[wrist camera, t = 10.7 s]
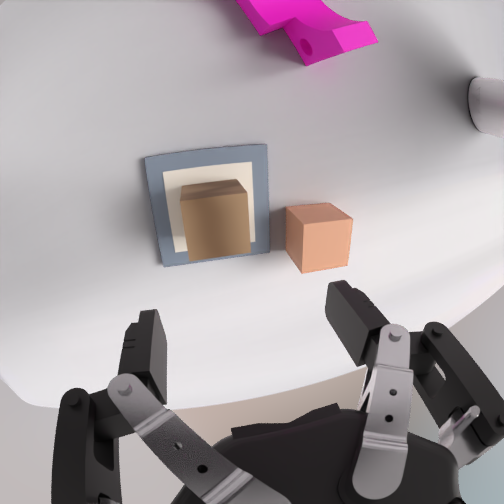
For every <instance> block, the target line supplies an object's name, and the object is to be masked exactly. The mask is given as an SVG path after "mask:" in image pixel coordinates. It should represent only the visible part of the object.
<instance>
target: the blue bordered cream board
mask: <svg viewBox="0 0 504 504" xmlns="http://www.w3.org/2000/svg"><path fill="white" fill-rule="evenodd" d="M144 159H145V166H146V173H147V180H148V187H149V193H150V200H151V206H152V211H153V217H154V222H155V228H156V233H157V238H158V243H159V248H160V252H161V257H162V262H163V266H164V267H170V266H177V265H184V264H191V263H198V262H206V261H213V260H220V259H227V258H234V257H241V256H248V255H255V254H262V253H269V252H270V233H269V191H268V159H267V145H266V144H255V145H241V146H228V147H218V148H208V149H199V150H191V151H183V152H176V153H169V154H162V155H156V156H150V157H146V158H144ZM231 179H237V180H238V181H239V182H240V184H241V185H242V186H243V188H244V189H245V190H246V191H247V193H248V210H249V227H250V244H251V253H245V254H238V255H231V256H224V257H217V258H210V259H203V260H197V261H189V256H188V250H187V244H186V238H185V232H184V226H183V220H182V213H181V206H180V196H181V188H182V186H184V185H191V184H198V183H206V182H214V181H223V180H231Z"/></svg>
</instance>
